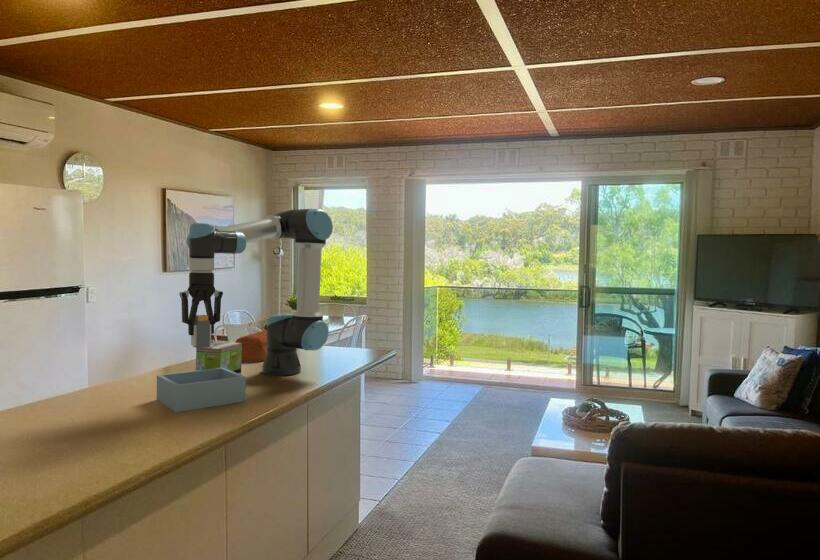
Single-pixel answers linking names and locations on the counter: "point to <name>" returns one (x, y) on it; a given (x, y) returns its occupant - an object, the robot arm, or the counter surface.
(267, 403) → the counter surface
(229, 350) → the tea box
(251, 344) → the bread
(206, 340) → the block
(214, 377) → the walled box
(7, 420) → the counter surface
